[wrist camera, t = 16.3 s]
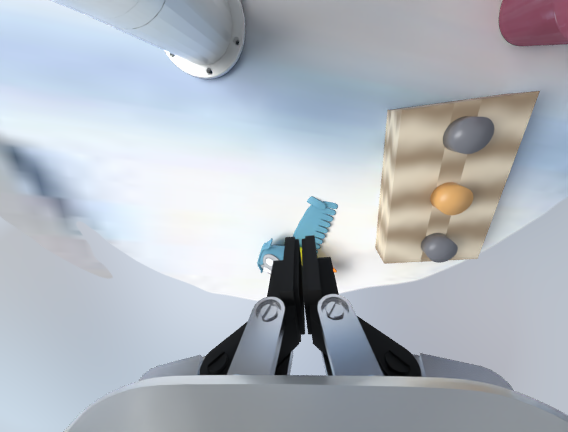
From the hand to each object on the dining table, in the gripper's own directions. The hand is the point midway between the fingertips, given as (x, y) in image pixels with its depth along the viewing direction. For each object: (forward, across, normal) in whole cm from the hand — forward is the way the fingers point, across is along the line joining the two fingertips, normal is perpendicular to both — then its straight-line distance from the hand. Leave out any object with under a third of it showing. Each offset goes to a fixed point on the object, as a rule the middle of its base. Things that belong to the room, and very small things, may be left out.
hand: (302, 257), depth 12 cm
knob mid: (+25, -22, +7) cm, 34 cm away
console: (+27, -22, +7) cm, 35 cm away
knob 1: (+25, -22, +16) cm, 37 cm away
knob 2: (+25, -22, -2) cm, 33 cm away
